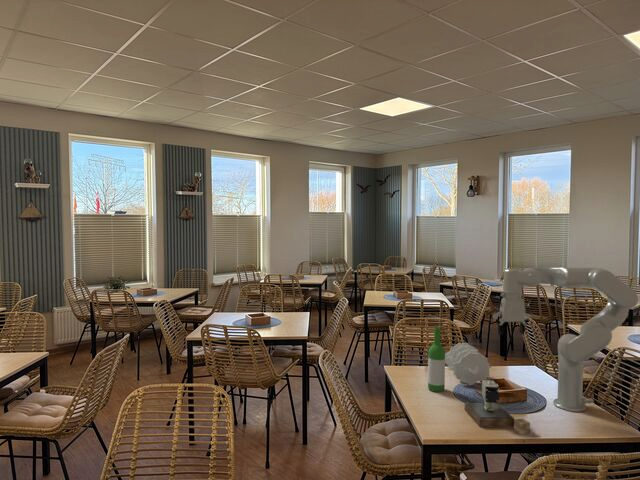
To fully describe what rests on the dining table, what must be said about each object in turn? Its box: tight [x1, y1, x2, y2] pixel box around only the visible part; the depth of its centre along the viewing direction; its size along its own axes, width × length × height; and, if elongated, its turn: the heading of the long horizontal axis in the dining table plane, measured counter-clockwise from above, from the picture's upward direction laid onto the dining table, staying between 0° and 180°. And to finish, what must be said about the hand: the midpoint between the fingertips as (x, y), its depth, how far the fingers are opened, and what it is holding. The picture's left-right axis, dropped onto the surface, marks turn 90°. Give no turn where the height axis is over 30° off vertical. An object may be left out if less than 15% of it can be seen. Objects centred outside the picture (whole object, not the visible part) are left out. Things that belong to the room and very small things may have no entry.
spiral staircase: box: [445, 341, 491, 386], centre depth 231 cm, size 18×18×25 cm
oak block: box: [513, 417, 531, 435], centre depth 173 cm, size 4×4×4 cm
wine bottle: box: [427, 326, 446, 393], centre depth 216 cm, size 8×8×30 cm
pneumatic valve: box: [481, 379, 501, 412], centre depth 185 cm, size 6×12×12 cm, turn 170°
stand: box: [464, 402, 515, 428], centre depth 185 cm, size 14×16×3 cm
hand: (511, 333), depth 204 cm, fingers open, 9 cm apart
